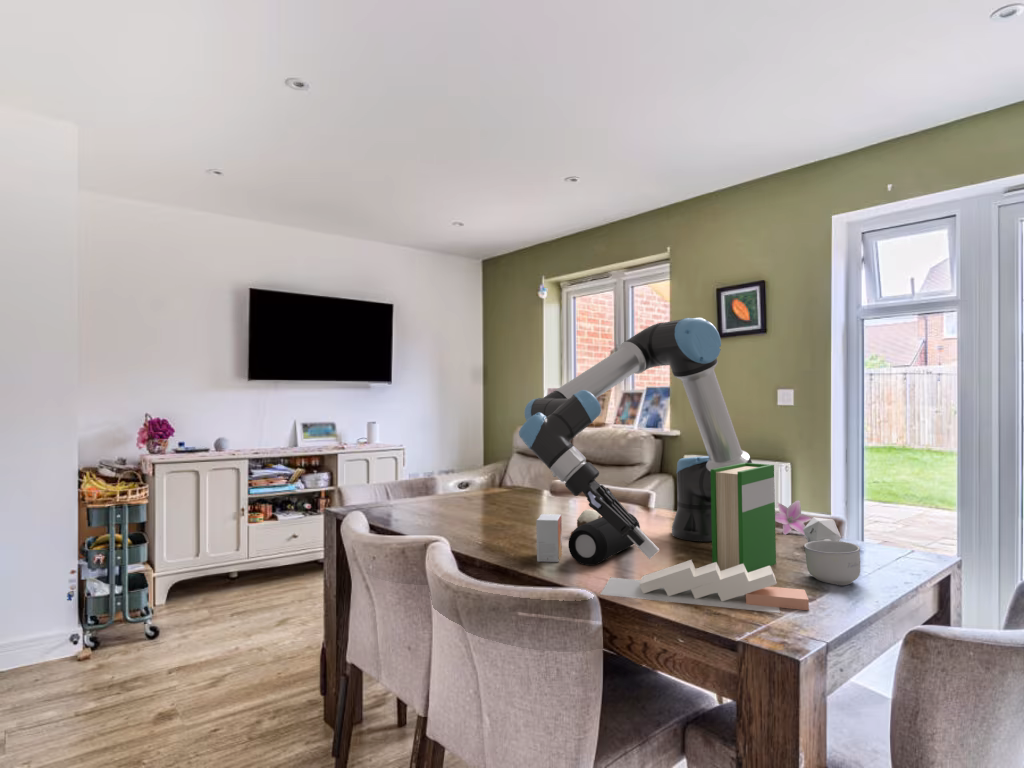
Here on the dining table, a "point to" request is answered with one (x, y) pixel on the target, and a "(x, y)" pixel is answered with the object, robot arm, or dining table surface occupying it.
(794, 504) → the lily
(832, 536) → the die
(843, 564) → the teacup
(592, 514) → the skull
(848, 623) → the dining table surface
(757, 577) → the domino
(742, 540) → the hardback book
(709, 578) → the domino
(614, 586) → the mat
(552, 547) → the small box
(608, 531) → the portable speaker
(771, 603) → the domino
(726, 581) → the domino
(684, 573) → the domino
